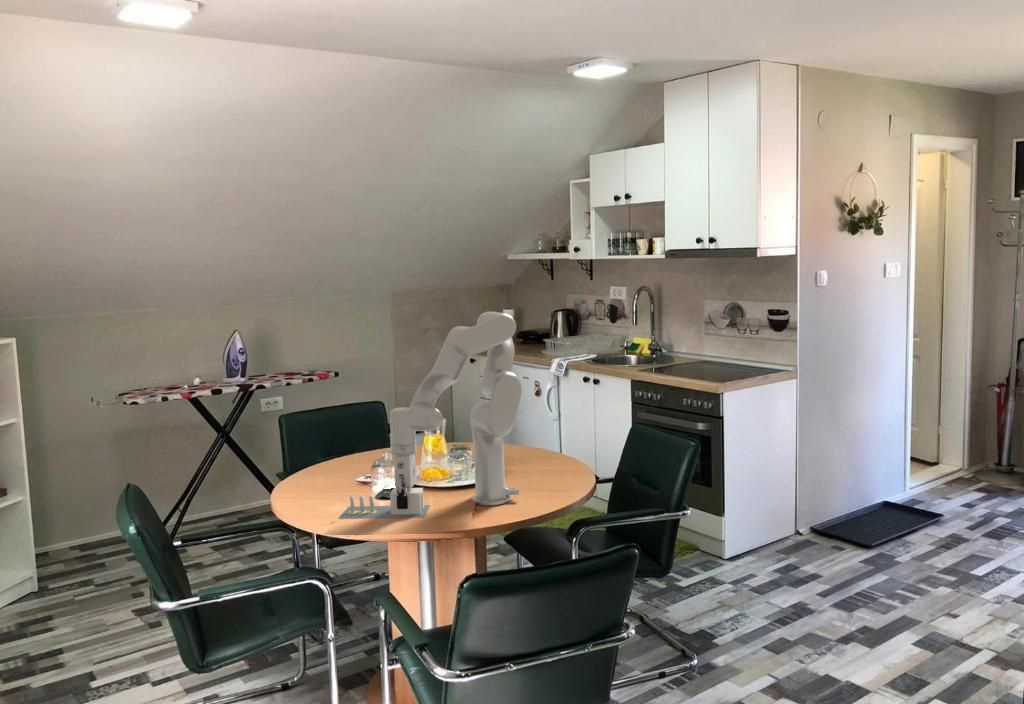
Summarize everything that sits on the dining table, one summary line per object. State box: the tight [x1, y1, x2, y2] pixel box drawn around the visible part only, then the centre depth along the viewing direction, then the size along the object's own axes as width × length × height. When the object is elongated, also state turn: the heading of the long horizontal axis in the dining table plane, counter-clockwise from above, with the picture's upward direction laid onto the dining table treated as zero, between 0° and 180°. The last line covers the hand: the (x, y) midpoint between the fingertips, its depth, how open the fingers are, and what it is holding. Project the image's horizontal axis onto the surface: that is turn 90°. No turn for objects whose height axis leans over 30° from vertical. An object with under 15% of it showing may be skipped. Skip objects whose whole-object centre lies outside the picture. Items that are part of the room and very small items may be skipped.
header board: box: [337, 495, 431, 520], centre depth 256 cm, size 26×12×6 cm, turn 86°
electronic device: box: [375, 485, 404, 500], centre depth 276 cm, size 9×6×15 cm
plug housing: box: [389, 487, 425, 515], centre depth 255 cm, size 9×6×6 cm, turn 86°
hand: (405, 503), depth 255 cm, fingers open, 9 cm apart
